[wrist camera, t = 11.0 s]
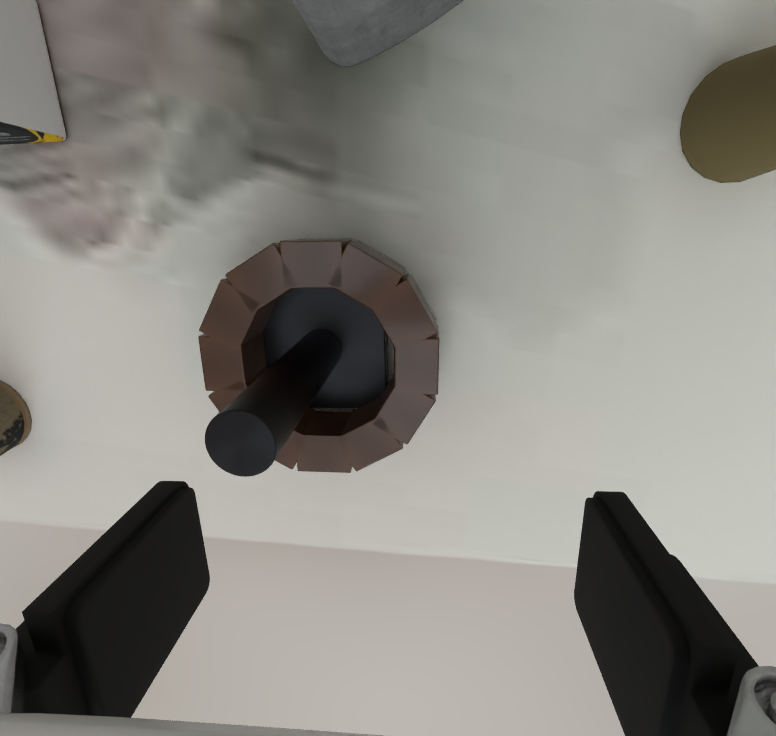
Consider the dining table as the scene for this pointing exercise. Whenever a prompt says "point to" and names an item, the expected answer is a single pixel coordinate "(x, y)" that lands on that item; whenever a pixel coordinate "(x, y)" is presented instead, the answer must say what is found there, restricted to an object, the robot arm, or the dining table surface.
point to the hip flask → (366, 24)
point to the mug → (12, 418)
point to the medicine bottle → (26, 78)
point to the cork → (733, 120)
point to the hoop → (360, 282)
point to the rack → (301, 376)
